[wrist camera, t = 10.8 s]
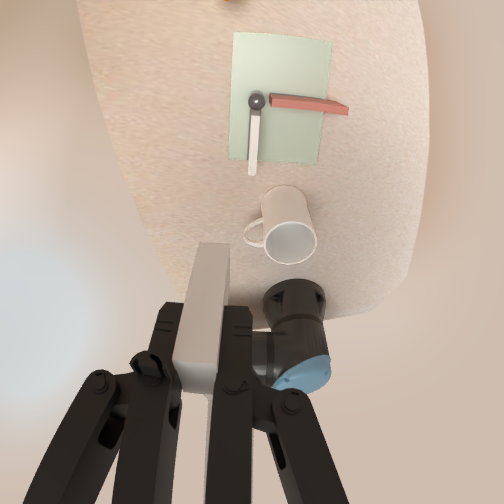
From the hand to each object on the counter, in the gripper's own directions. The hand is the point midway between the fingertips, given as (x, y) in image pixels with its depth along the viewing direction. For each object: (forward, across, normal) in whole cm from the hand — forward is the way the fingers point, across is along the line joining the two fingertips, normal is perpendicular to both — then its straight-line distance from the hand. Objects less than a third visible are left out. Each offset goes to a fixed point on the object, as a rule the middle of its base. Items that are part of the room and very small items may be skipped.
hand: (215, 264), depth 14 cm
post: (+34, +2, +5) cm, 35 cm away
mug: (+35, +7, -15) cm, 38 cm away
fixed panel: (+34, +2, -2) cm, 34 cm away
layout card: (+34, +6, +5) cm, 35 cm away
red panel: (+34, +9, +5) cm, 35 cm away
